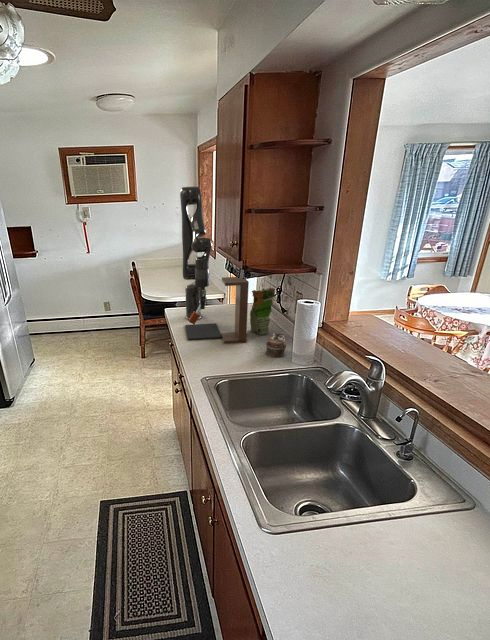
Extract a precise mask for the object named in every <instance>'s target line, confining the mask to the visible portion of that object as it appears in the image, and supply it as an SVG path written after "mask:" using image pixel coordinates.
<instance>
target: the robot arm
mask: <svg viewBox="0 0 490 640" xmlns="http://www.w3.org/2000/svg"><path fill="white" fill-rule="evenodd" d="M179 199H180V211H181V212H180V213H181V246H182V269H181V270H182V278H183V280H184V281H193V282H191V283H189V284H187V285H185V287H184V288H185V318H186V320H189V318H190V317H191V315H192V313H193V311H195V312H196V311H197V309H198V307H199V305H201V310H200V311H199V315H200V316H199V318H198V319H197V320H200V319H202V310H205V309H206V308H205V307H206V305H205V303H206V301H207V299H206V298H207V287H209V286H210V256H211V252H212V248H213V241H212V239H211V237H205V236H206V234H207V229H206V225H205V220H204V208H203V207H204V206H203V197H202V191H201V188H200V186H198V185H196V186H195V185H193V186H183V187H180V191H179ZM188 206H196V207H195V210H194V213H193V215H192V216H191V215H190V213H189V210H188V209H189V208H188ZM193 252H194V253H196V254H197V253H203V254H202V255H200V256H197V257H196V258H195V261H194V263H189V261H190V258H191V255H192V254H193ZM205 299H206V301H205Z"/></svg>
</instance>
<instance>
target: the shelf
mask: <svg viewBox="0 0 490 640" xmlns="http://www.w3.org/2000/svg"><path fill="white" fill-rule="evenodd" d="M238 277H239V276H226V277H224V276H223V277H221V282H222V284H223V285H224V287H235V300H234V301H235V302H234V303H235V306H234V307H235V308H234V310H235V311H234V331H232V332H229V331H227V332H220V335H221V339H222V341H223V344H243V343H247V329H248V309H249V307H248V305H249V304H248V303H249V284H250V282H249V280H248V279H247V278H246V277H245V279H241V278H238Z"/></svg>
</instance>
